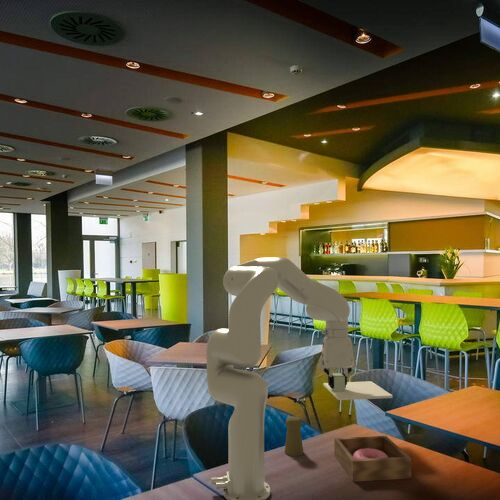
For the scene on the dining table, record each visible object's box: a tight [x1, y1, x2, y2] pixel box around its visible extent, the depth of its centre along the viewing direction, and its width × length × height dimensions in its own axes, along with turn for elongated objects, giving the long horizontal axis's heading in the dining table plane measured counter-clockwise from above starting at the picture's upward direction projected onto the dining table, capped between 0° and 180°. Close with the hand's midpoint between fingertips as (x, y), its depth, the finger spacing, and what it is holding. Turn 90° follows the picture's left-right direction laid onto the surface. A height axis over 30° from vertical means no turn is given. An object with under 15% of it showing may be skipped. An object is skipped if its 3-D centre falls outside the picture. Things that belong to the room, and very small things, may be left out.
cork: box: [284, 415, 304, 457], centre depth 144 cm, size 6×6×11 cm
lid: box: [322, 372, 393, 401], centre depth 154 cm, size 18×18×6 cm
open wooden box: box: [333, 435, 412, 483], centre depth 134 cm, size 17×17×6 cm
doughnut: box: [353, 448, 389, 460], centre depth 134 cm, size 11×11×4 cm
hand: (337, 386), depth 153 cm, fingers closed on lid, 3 cm apart
